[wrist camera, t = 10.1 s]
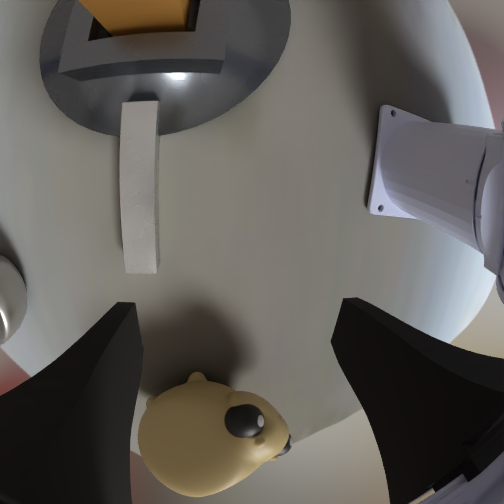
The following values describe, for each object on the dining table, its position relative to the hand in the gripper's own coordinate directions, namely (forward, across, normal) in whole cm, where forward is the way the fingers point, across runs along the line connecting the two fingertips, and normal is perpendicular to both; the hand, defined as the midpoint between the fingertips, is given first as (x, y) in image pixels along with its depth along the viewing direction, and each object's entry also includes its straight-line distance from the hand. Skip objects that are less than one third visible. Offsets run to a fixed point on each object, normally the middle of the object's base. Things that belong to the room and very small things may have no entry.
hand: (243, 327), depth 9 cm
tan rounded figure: (+10, +1, +15) cm, 18 cm away
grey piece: (+9, +5, -10) cm, 15 cm away
